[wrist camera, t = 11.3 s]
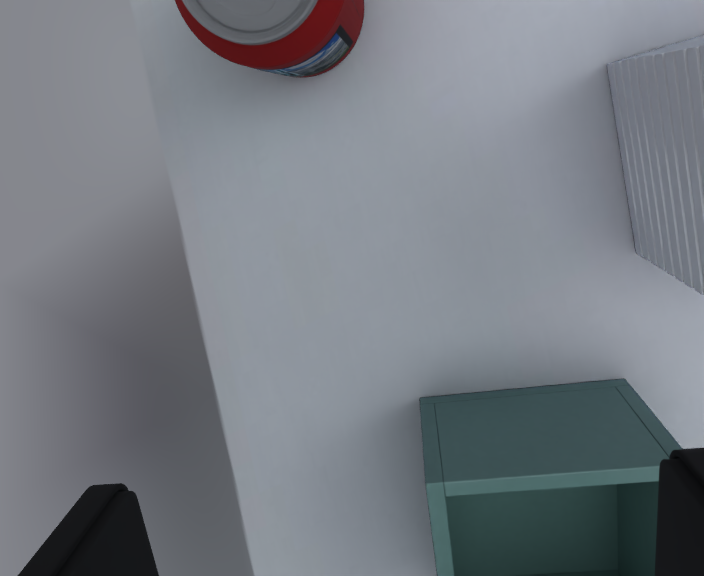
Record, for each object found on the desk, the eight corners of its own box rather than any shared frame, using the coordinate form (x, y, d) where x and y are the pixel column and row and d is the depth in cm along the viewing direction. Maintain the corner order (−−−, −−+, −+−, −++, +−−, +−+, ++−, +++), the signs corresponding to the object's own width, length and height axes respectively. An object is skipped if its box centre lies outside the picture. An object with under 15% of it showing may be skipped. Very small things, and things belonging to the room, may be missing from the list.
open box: (419, 397, 37) (425, 483, 29) (625, 378, 36) (695, 463, 27) (442, 579, 42) (453, 700, 33) (626, 568, 40) (687, 693, 32)
